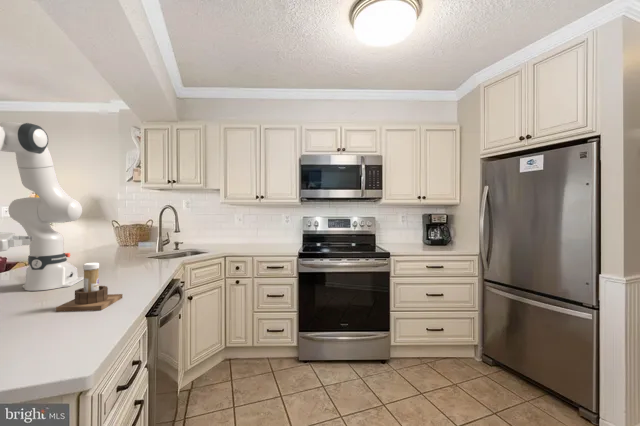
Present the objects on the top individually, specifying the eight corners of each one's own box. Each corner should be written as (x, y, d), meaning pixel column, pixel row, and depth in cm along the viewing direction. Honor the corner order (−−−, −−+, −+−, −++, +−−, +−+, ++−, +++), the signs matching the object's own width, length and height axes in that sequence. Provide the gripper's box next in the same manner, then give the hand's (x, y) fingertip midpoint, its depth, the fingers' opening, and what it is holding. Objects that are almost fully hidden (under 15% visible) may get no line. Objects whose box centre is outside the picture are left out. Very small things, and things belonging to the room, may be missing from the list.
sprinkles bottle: (98, 301, 108) (98, 263, 108) (82, 303, 106) (82, 265, 105) (99, 297, 112) (99, 261, 112) (84, 299, 109) (83, 262, 109)
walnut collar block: (83, 298, 115) (82, 284, 115) (122, 297, 117) (122, 283, 117) (56, 311, 101) (55, 295, 101) (101, 310, 103) (101, 294, 103)
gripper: (-43, 236, 82) (28, 233, 91) (-25, 230, 97) (33, 228, 106) (-42, 259, 82) (28, 254, 91) (-25, 249, 98) (34, 245, 107)
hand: (31, 240), depth 99 cm, fingers open, 8 cm apart
